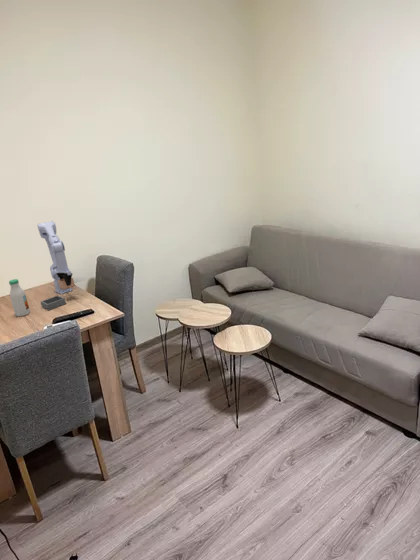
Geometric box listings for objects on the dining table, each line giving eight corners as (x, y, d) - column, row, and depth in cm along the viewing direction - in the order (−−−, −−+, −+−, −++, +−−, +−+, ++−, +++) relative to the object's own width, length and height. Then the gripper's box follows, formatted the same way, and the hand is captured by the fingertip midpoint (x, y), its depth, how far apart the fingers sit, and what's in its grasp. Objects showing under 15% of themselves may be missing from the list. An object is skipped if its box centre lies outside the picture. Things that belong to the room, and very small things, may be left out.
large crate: (41, 307, 230) (40, 301, 229) (59, 300, 237) (57, 295, 236) (48, 310, 224) (47, 304, 223) (66, 303, 231) (64, 298, 230)
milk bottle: (24, 316, 219) (15, 282, 212) (12, 316, 221) (2, 283, 214) (33, 310, 226) (23, 277, 219) (21, 310, 228) (11, 278, 221)
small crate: (59, 288, 236) (57, 280, 234) (70, 284, 240) (68, 276, 239) (63, 289, 232) (61, 281, 231) (74, 285, 237) (72, 278, 235)
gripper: (49, 262, 233) (54, 284, 238) (60, 266, 224) (66, 288, 228) (60, 259, 238) (65, 280, 243) (72, 262, 228) (77, 285, 233)
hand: (66, 284), depth 236 cm, fingers closed on small crate, 5 cm apart
